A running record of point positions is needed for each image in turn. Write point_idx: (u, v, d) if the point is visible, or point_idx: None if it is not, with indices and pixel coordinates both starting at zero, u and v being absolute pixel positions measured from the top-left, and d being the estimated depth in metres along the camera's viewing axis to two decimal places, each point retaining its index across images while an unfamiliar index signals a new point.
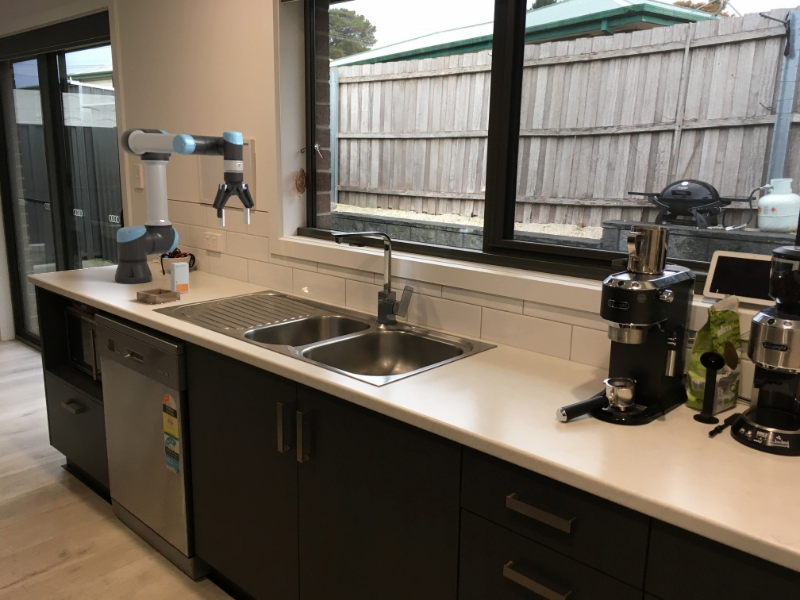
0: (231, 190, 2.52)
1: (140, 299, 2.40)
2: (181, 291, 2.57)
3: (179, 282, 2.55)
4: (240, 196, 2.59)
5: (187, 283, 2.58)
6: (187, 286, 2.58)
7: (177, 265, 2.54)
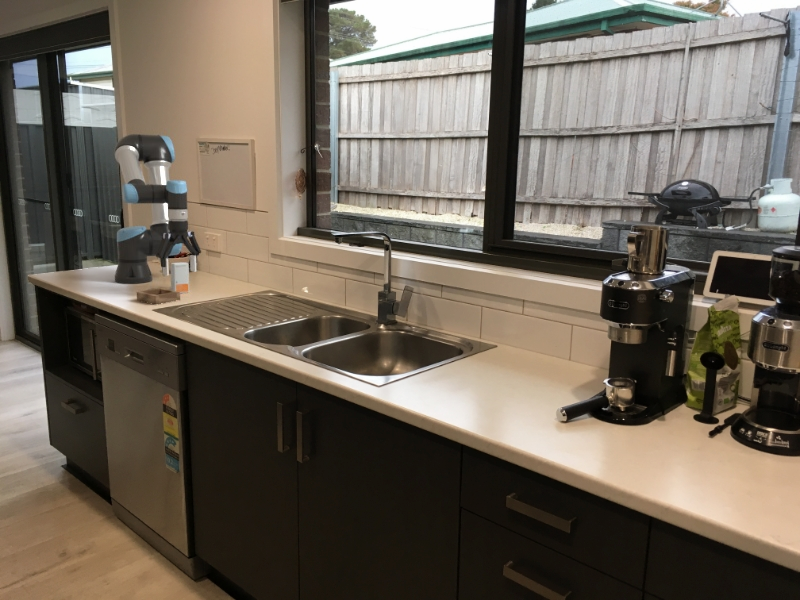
0: (175, 239, 2.51)
1: (140, 299, 2.40)
2: (181, 291, 2.57)
3: (179, 282, 2.55)
4: (186, 244, 2.57)
5: (187, 283, 2.58)
6: (187, 286, 2.58)
7: (177, 265, 2.54)
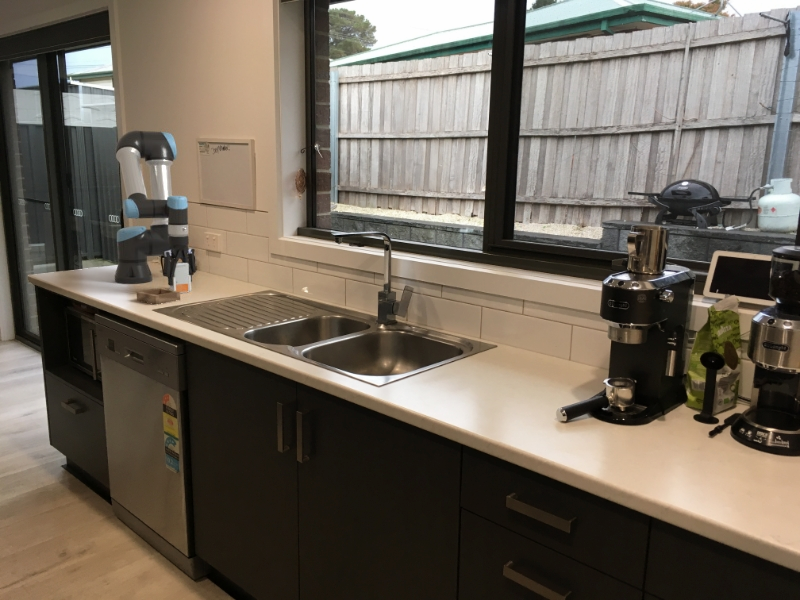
0: (177, 255, 2.52)
1: (140, 299, 2.40)
2: (181, 291, 2.57)
3: (179, 282, 2.55)
4: (184, 260, 2.57)
5: (187, 283, 2.58)
6: (187, 286, 2.58)
7: (177, 265, 2.54)
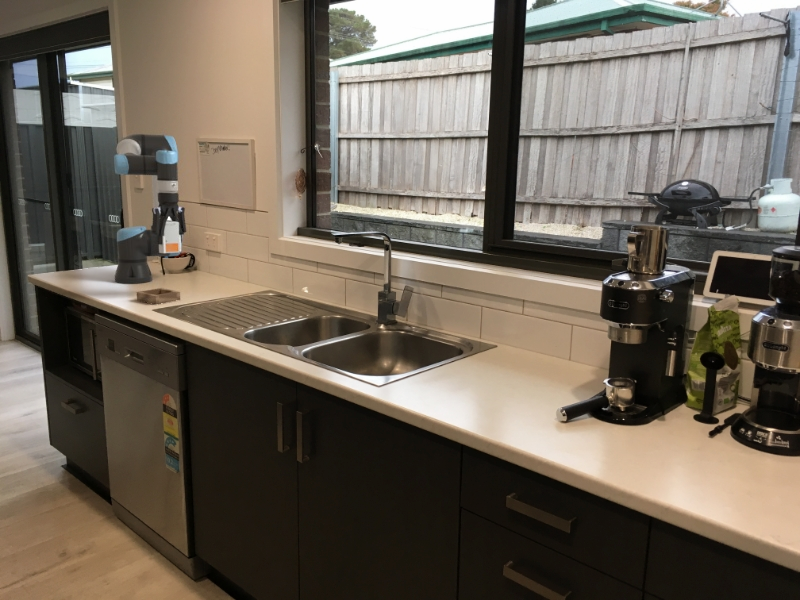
0: (166, 213, 2.42)
1: (140, 299, 2.40)
2: (171, 251, 2.46)
3: (169, 242, 2.45)
4: (173, 219, 2.47)
5: (177, 242, 2.47)
6: (177, 246, 2.48)
7: (167, 223, 2.43)
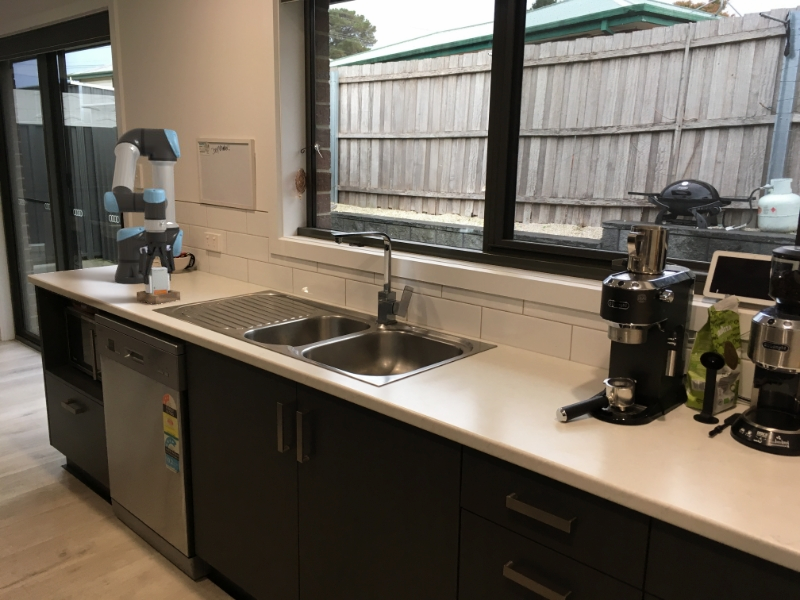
0: (153, 252, 2.36)
1: (140, 299, 2.40)
2: None
3: (157, 288, 2.40)
4: (161, 258, 2.41)
5: (166, 289, 2.42)
6: (166, 292, 2.42)
7: (155, 270, 2.38)
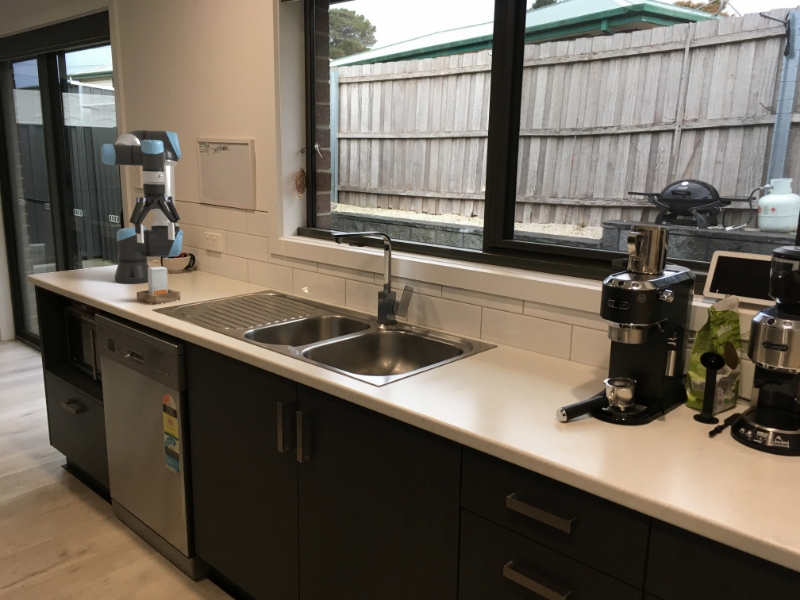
0: (151, 203, 2.32)
1: (140, 299, 2.40)
2: None
3: (157, 288, 2.40)
4: (163, 210, 2.39)
5: (166, 289, 2.42)
6: (166, 292, 2.42)
7: (155, 270, 2.38)
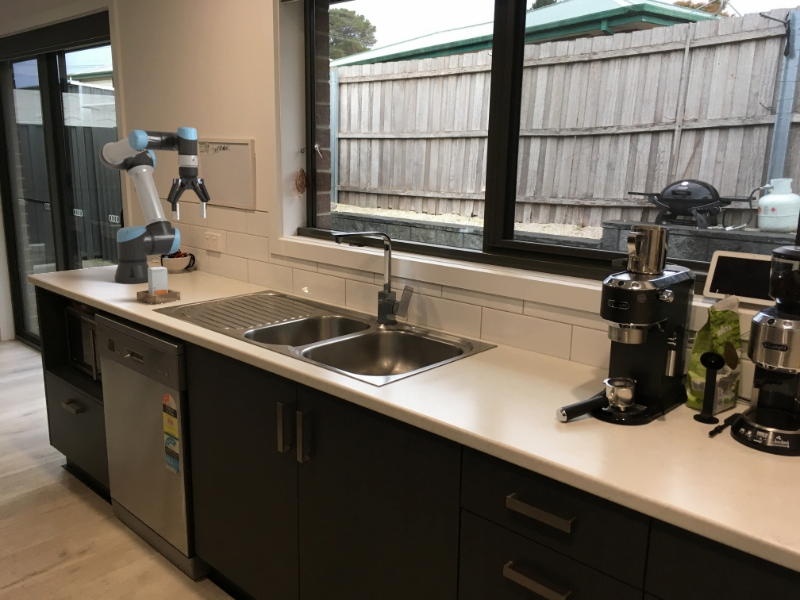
0: (185, 184, 2.58)
1: (140, 299, 2.40)
2: None
3: (157, 288, 2.40)
4: (195, 190, 2.65)
5: (166, 289, 2.42)
6: (166, 292, 2.42)
7: (155, 270, 2.38)
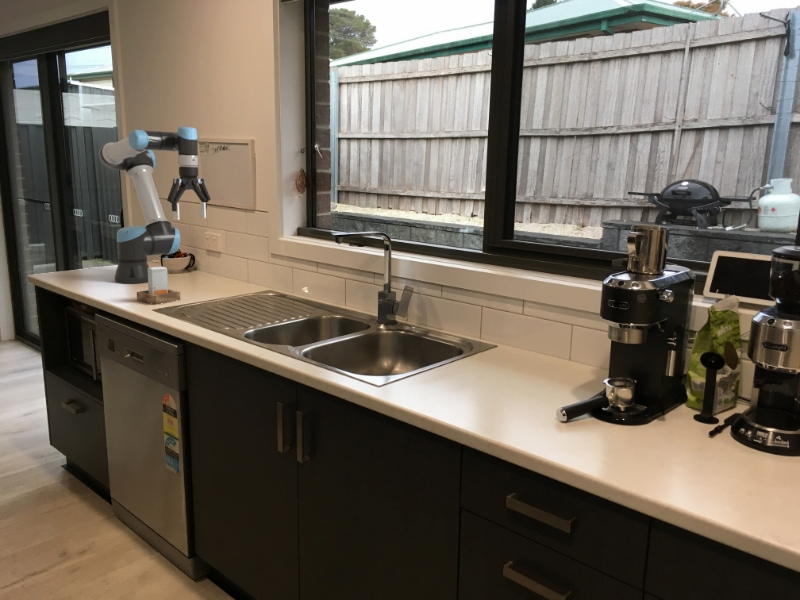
0: (186, 184, 2.59)
1: (140, 299, 2.40)
2: None
3: (157, 288, 2.40)
4: (196, 190, 2.65)
5: (166, 289, 2.42)
6: (166, 292, 2.42)
7: (155, 270, 2.38)
